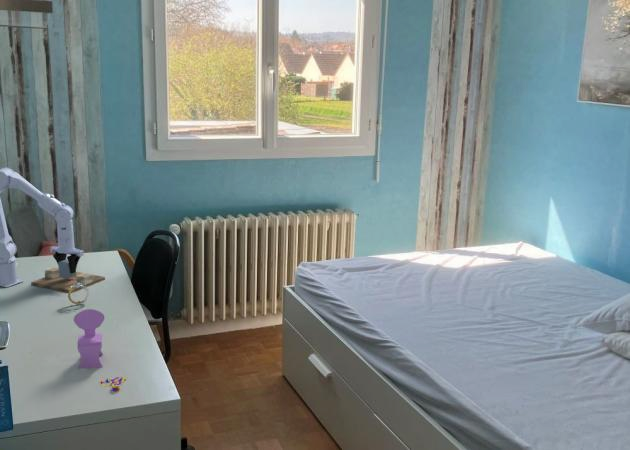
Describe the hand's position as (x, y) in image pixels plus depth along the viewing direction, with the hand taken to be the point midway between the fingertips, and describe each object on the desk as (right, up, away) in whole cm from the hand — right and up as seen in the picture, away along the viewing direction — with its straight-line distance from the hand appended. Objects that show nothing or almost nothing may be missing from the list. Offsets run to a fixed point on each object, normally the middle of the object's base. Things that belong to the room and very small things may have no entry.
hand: (68, 271), depth 257 cm
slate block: (0, -2, 0) cm, 2 cm away
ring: (+12, -10, -22) cm, 27 cm away
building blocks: (+42, -25, -79) cm, 93 cm away
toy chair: (+31, -21, -67) cm, 77 cm away
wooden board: (0, -4, +1) cm, 4 cm away
